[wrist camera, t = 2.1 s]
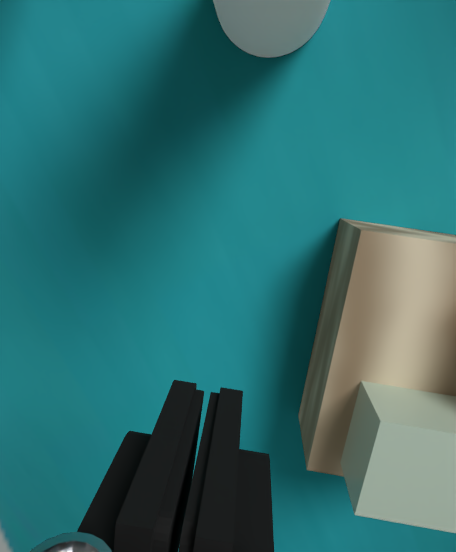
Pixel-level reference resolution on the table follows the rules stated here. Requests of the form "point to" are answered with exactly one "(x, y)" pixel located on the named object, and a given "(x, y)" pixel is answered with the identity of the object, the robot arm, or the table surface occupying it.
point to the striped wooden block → (378, 328)
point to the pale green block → (402, 456)
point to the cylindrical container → (270, 24)
